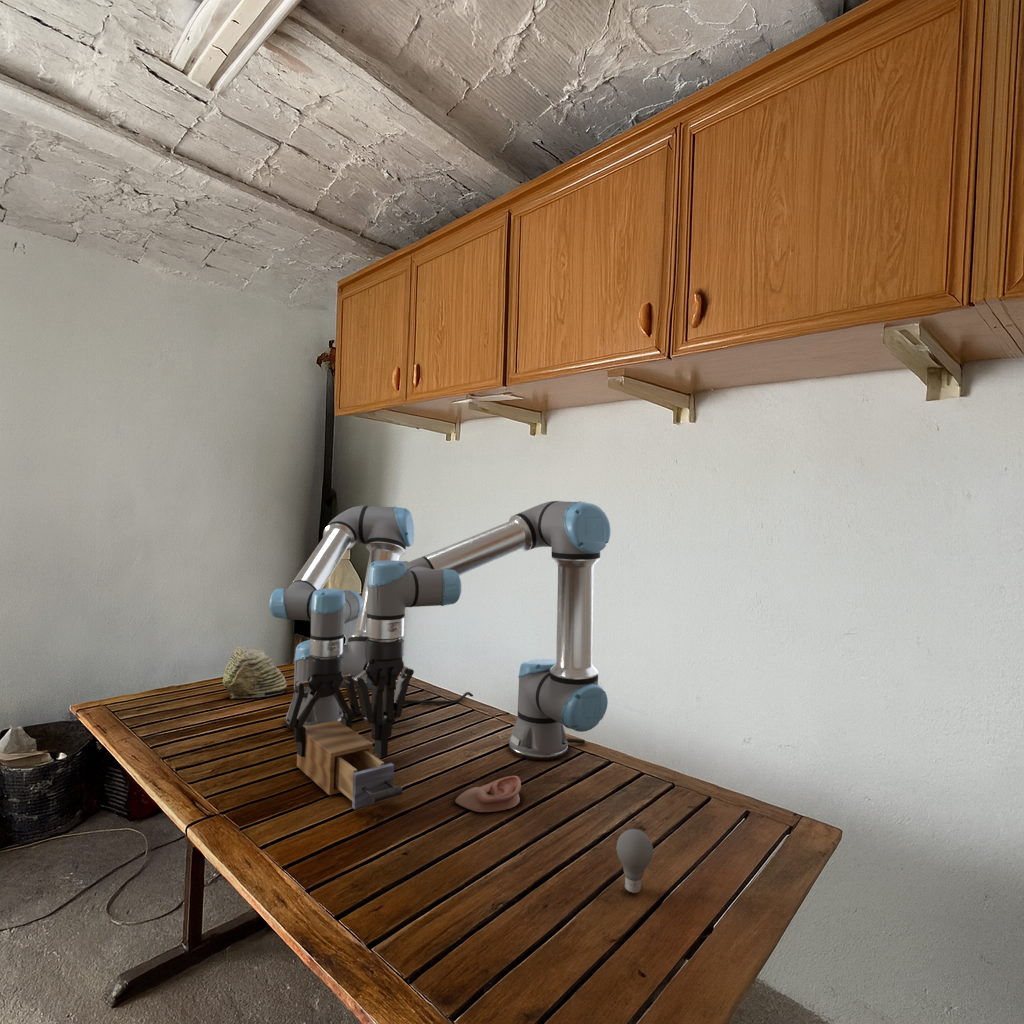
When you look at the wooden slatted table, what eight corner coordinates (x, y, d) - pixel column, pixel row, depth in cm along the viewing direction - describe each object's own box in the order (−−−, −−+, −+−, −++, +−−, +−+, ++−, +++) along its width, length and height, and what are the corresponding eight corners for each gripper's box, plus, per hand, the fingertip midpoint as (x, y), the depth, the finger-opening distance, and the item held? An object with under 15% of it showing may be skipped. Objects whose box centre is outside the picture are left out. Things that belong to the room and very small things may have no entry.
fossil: (218, 695, 195) (220, 647, 195) (278, 685, 208) (279, 640, 207) (228, 703, 189) (230, 653, 188) (289, 692, 201) (290, 645, 201)
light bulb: (610, 879, 108) (613, 822, 108) (644, 879, 109) (647, 822, 109) (619, 902, 102) (622, 840, 102) (655, 901, 103) (658, 840, 103)
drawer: (407, 809, 128) (408, 774, 128) (368, 821, 122) (369, 785, 122) (356, 769, 145) (357, 739, 145) (319, 779, 140) (320, 747, 139)
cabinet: (371, 783, 141) (373, 743, 140) (329, 795, 134) (330, 753, 134) (336, 756, 155) (337, 719, 154) (296, 766, 148) (297, 727, 148)
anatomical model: (451, 789, 131) (466, 766, 142) (450, 808, 131) (465, 784, 142) (514, 798, 128) (524, 774, 139) (513, 817, 128) (523, 792, 139)
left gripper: (284, 665, 138) (280, 766, 139) (377, 653, 153) (373, 744, 153) (272, 658, 144) (268, 755, 145) (363, 646, 159) (359, 735, 159)
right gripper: (363, 645, 120) (359, 768, 121) (422, 637, 128) (418, 753, 129) (346, 638, 126) (342, 755, 126) (403, 631, 134) (400, 741, 135)
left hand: (322, 749), depth 149 cm, fingers closed on cabinet, 10 cm apart
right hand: (380, 754), depth 128 cm, fingers closed
